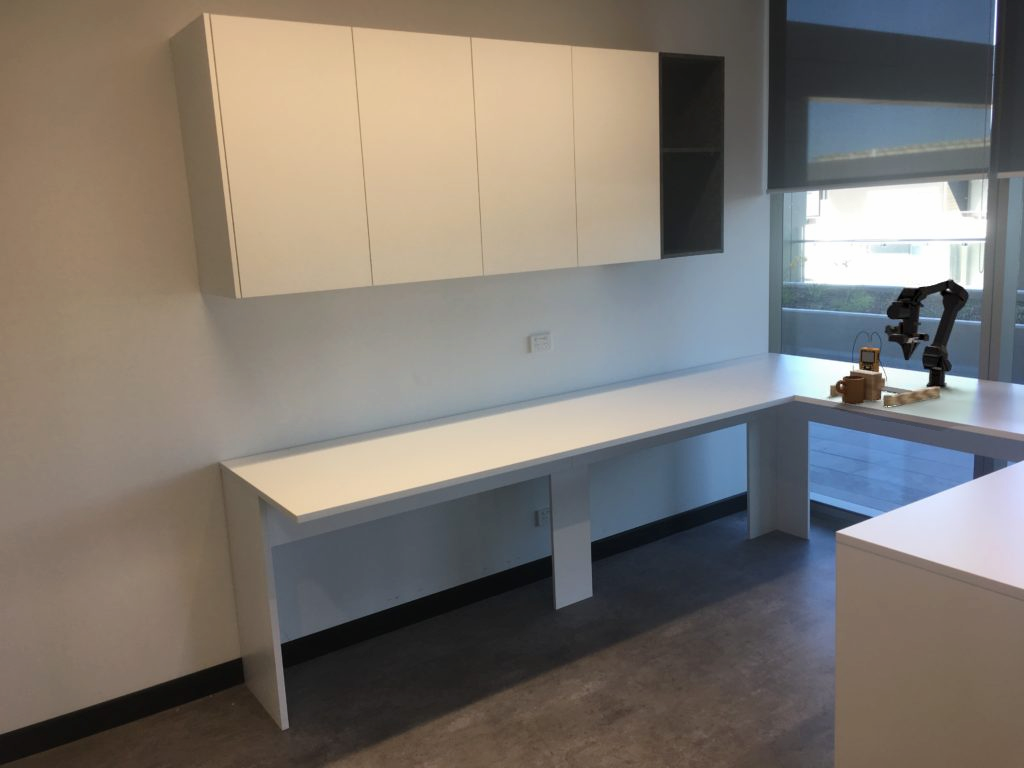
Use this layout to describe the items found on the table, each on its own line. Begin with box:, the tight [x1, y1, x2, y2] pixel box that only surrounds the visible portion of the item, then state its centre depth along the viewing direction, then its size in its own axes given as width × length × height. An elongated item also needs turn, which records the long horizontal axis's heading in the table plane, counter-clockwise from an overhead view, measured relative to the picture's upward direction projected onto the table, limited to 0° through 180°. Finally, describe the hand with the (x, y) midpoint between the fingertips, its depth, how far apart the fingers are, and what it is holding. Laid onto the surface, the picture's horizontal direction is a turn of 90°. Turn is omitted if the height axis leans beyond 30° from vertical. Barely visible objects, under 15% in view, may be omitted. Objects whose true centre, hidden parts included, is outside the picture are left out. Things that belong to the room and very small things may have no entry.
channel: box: [829, 377, 941, 408], centre depth 312 cm, size 28×26×4 cm
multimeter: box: [851, 331, 888, 382], centre depth 340 cm, size 15×10×20 cm
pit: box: [881, 385, 913, 394], centre depth 317 cm, size 7×21×1 cm, turn 27°
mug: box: [835, 375, 865, 405], centre depth 304 cm, size 12×8×9 cm, turn 113°
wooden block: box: [849, 368, 883, 403], centre depth 307 cm, size 5×10×10 cm, turn 27°
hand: (906, 360), depth 316 cm, fingers closed
